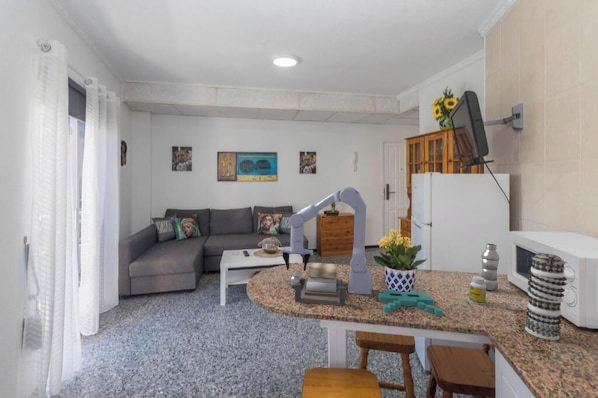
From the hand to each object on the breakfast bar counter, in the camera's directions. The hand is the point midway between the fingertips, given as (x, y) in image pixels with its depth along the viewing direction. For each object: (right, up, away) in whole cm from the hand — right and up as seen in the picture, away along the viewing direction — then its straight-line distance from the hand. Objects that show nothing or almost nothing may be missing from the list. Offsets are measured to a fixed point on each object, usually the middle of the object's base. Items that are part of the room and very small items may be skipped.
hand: (296, 269), depth 131 cm
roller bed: (+11, -7, -7) cm, 15 cm away
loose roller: (0, -6, 0) cm, 6 cm away
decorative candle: (+78, -11, -39) cm, 88 cm away
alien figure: (+43, -9, -18) cm, 47 cm away
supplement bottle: (+71, -9, -17) cm, 74 cm away
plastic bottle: (+84, -8, -4) cm, 85 cm away
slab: (+12, -1, -1) cm, 12 cm away
